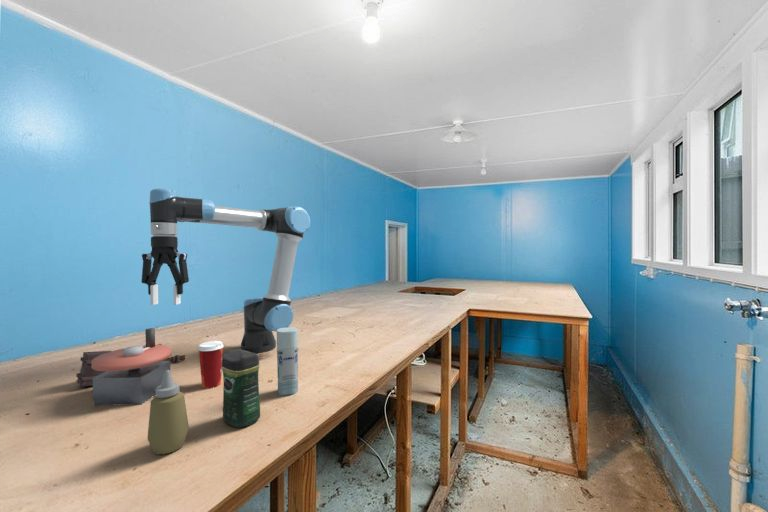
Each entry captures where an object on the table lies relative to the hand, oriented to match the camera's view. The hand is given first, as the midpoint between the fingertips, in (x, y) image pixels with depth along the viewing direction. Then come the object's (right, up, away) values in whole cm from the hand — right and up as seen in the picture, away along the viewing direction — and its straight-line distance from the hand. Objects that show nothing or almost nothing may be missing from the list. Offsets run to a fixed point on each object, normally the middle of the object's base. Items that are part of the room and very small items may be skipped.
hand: (166, 304), depth 113 cm
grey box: (-5, -27, -7) cm, 29 cm away
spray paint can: (+43, -27, -6) cm, 51 cm away
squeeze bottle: (+24, -28, -35) cm, 51 cm away
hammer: (-17, -27, +11) cm, 34 cm away
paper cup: (+16, -27, -1) cm, 31 cm away
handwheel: (-5, -19, -8) cm, 21 cm away
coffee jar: (+35, -28, -23) cm, 51 cm away
